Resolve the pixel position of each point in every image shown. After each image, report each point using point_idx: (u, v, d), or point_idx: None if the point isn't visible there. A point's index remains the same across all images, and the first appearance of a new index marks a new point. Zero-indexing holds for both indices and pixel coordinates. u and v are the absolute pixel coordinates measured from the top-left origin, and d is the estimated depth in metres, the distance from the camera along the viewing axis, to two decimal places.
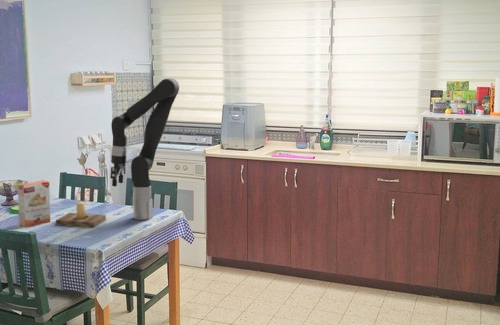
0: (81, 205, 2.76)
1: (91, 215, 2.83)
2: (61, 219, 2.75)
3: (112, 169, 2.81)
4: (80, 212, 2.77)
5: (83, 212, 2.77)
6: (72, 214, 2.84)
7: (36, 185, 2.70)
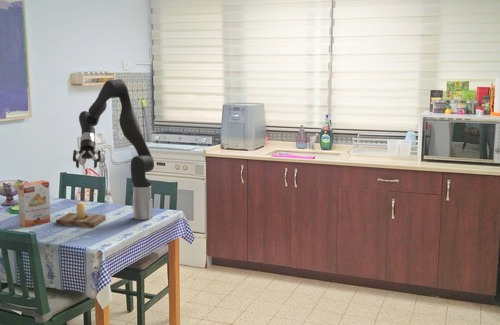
0: (81, 205, 2.76)
1: (91, 215, 2.83)
2: (61, 219, 2.75)
3: None
4: (80, 212, 2.77)
5: (83, 212, 2.77)
6: (72, 214, 2.84)
7: (36, 185, 2.70)
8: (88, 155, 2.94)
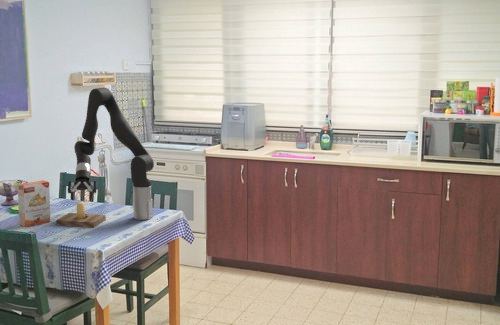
0: (81, 205, 2.76)
1: (91, 215, 2.83)
2: (61, 219, 2.75)
3: None
4: (80, 212, 2.77)
5: (83, 212, 2.77)
6: (72, 214, 2.84)
7: (36, 185, 2.70)
8: (83, 186, 2.86)
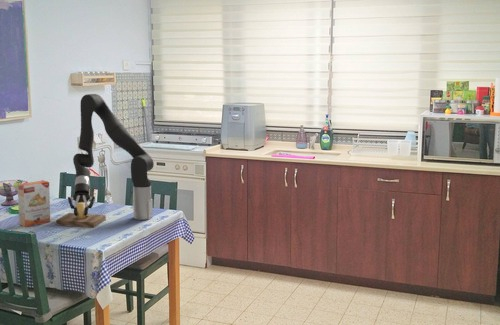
0: (81, 205, 2.76)
1: (91, 215, 2.83)
2: (61, 219, 2.75)
3: (68, 200, 2.81)
4: (80, 212, 2.77)
5: (83, 212, 2.77)
6: (72, 214, 2.84)
7: (36, 185, 2.70)
8: (81, 199, 2.81)
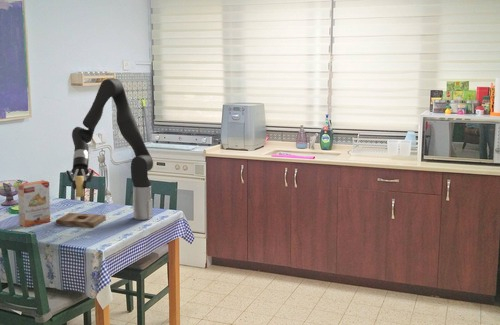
0: (80, 178, 2.74)
1: (91, 215, 2.83)
2: (61, 219, 2.75)
3: (67, 174, 2.79)
4: (79, 186, 2.74)
5: (82, 185, 2.75)
6: (72, 214, 2.84)
7: (36, 185, 2.70)
8: (80, 173, 2.78)
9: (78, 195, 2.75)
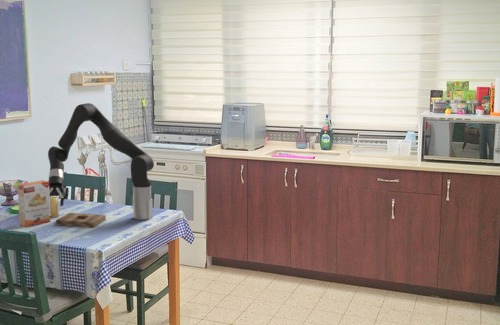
0: (54, 200, 2.86)
1: (91, 215, 2.83)
2: (61, 219, 2.75)
3: None
4: (54, 207, 2.86)
5: (56, 206, 2.87)
6: (72, 214, 2.84)
7: (36, 185, 2.70)
8: (55, 192, 2.90)
9: (53, 216, 2.87)
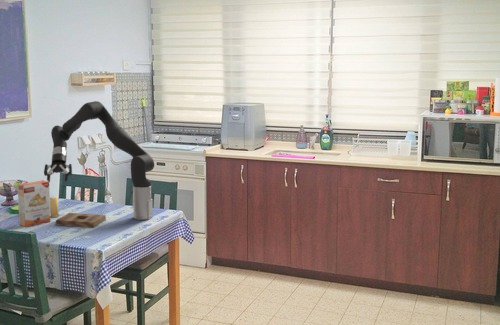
0: (54, 200, 2.86)
1: (91, 215, 2.83)
2: (61, 219, 2.75)
3: None
4: (54, 207, 2.86)
5: (56, 206, 2.87)
6: (72, 214, 2.84)
7: (36, 185, 2.70)
8: (59, 169, 2.99)
9: (53, 216, 2.87)
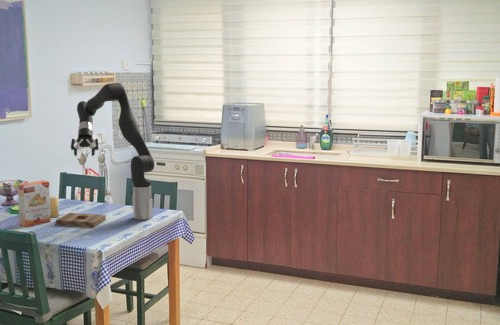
0: (54, 200, 2.86)
1: (91, 215, 2.83)
2: (61, 219, 2.75)
3: None
4: (54, 207, 2.86)
5: (56, 206, 2.87)
6: (72, 214, 2.84)
7: (36, 185, 2.70)
8: (86, 143, 3.00)
9: (53, 216, 2.87)
